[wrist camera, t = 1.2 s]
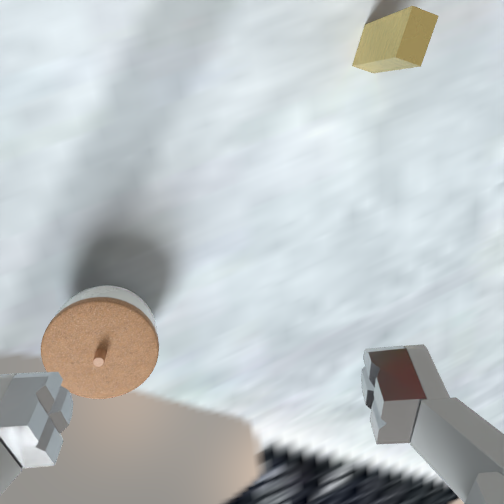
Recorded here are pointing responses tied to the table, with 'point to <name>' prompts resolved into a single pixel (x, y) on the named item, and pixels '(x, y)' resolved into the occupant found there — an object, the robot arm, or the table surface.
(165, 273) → the table surface
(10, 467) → the robot arm
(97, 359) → the lidded jar
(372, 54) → the gold rectangular block
